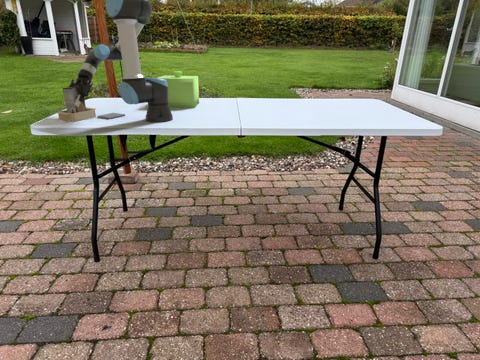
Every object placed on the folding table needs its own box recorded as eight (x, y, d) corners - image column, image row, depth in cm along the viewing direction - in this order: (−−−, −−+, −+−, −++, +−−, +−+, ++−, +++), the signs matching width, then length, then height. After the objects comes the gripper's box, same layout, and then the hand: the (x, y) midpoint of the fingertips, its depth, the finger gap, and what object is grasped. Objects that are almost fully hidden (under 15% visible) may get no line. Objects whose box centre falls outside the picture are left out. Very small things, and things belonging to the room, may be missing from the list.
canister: (158, 107, 236) (155, 72, 227) (165, 102, 256) (163, 69, 247) (194, 108, 235) (193, 72, 227) (199, 103, 255) (198, 70, 247)
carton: (99, 116, 205) (98, 108, 203) (69, 122, 188) (68, 114, 187) (85, 114, 211) (83, 106, 209) (54, 120, 194) (53, 112, 192)
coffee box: (77, 114, 204) (73, 86, 198) (87, 114, 203) (82, 86, 197) (67, 117, 196) (62, 87, 190) (77, 117, 194) (72, 88, 188)
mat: (125, 116, 207) (125, 114, 207) (109, 119, 197) (109, 117, 197) (113, 114, 212) (113, 112, 211) (97, 117, 202) (97, 115, 201)
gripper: (104, 77, 202) (89, 110, 194) (77, 77, 208) (61, 108, 200) (96, 68, 196) (81, 102, 187) (69, 68, 202) (52, 100, 193)
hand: (71, 105), depth 194 cm, fingers closed on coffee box, 7 cm apart
